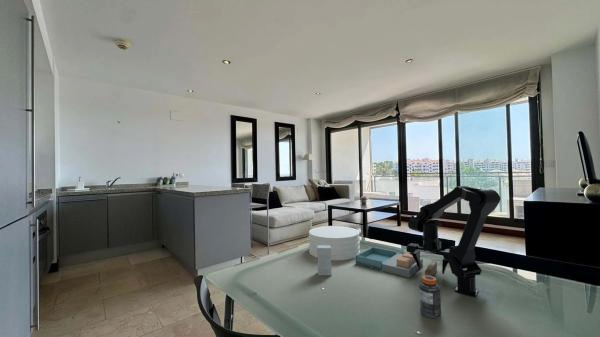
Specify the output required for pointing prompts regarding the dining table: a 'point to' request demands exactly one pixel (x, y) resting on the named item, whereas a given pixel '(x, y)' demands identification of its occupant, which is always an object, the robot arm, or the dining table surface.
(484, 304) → the dining table surface
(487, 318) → the dining table surface
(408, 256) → the tile
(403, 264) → the tile
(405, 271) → the platform
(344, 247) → the plate stack
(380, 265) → the box
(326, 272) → the skincare box
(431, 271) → the scraper bar
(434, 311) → the pill bottle
